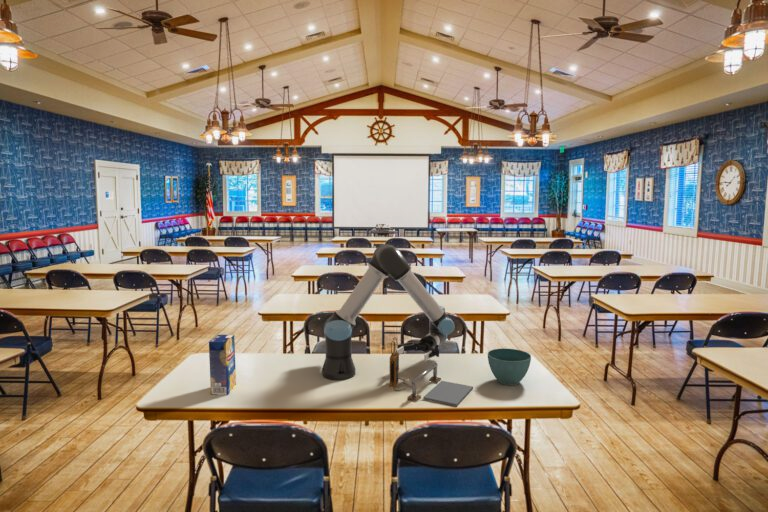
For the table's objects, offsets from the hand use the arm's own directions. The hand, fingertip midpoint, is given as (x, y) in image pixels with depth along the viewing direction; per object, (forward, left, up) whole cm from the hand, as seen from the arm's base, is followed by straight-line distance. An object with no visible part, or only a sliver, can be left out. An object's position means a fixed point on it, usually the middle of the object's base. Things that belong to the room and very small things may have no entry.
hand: (410, 355), depth 216 cm
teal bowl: (+38, +18, -11) cm, 44 cm away
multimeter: (-1, -7, -11) cm, 13 cm away
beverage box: (-64, -47, -11) cm, 80 cm away
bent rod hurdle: (+10, -7, -11) cm, 16 cm away
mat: (+20, -7, -11) cm, 24 cm away
